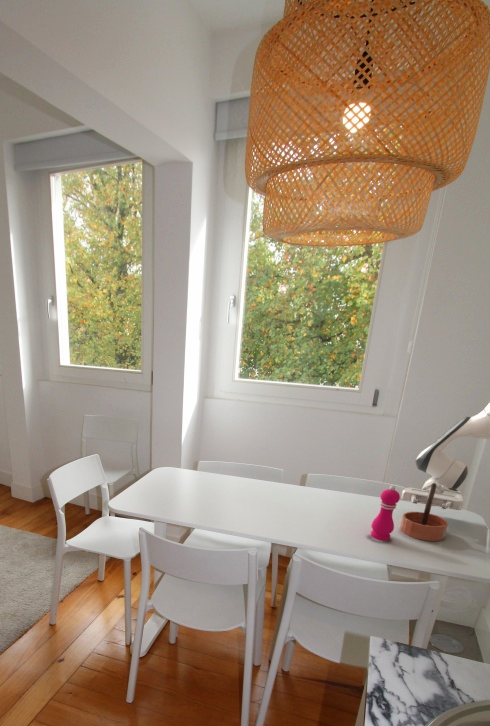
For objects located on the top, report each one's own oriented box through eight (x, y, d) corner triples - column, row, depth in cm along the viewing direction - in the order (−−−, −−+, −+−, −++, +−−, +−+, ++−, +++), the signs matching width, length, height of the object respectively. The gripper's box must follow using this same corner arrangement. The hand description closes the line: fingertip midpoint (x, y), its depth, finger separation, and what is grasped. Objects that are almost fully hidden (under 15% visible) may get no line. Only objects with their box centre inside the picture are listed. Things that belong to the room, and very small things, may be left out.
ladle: (431, 531, 173) (444, 482, 166) (429, 537, 168) (442, 486, 161) (414, 528, 176) (426, 479, 169) (412, 533, 171) (424, 483, 164)
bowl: (445, 532, 174) (449, 517, 172) (442, 546, 163) (446, 530, 161) (402, 523, 182) (406, 509, 179) (396, 535, 170) (400, 520, 168)
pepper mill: (389, 544, 164) (403, 491, 156) (367, 538, 167) (380, 486, 159) (391, 536, 170) (405, 484, 161) (370, 531, 173) (383, 480, 165)
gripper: (405, 481, 187) (400, 490, 176) (465, 491, 176) (464, 501, 165) (402, 496, 189) (396, 506, 179) (461, 507, 178) (459, 518, 168)
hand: (429, 504), depth 172 cm, fingers open, 8 cm apart
